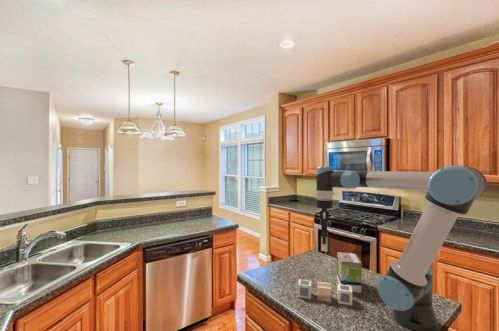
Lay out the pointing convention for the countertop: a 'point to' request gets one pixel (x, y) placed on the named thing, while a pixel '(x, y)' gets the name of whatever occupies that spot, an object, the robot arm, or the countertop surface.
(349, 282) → the tea box
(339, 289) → the labelled block
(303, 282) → the labelled block
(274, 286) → the countertop surface
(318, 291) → the plain block
